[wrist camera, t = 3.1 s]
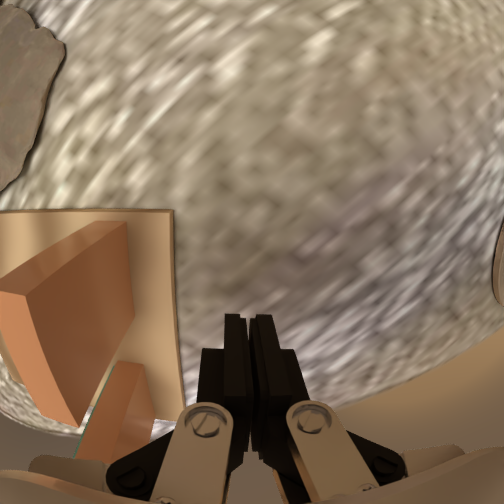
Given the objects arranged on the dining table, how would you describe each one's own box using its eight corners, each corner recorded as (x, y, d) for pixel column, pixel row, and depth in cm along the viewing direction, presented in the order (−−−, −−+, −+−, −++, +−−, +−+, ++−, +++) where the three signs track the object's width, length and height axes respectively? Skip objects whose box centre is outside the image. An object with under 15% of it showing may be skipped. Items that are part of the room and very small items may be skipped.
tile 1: (126, 221, 14) (25, 296, 6) (135, 316, 16) (79, 428, 8) (91, 220, 14) (-18, 287, 6) (103, 312, 16) (36, 413, 8)
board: (173, 209, 15) (169, 213, 15) (186, 413, 21) (185, 422, 20) (-30, 212, 14) (-37, 215, 13) (17, 374, 20) (13, 380, 19)
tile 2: (143, 363, 18) (107, 471, 9) (155, 415, 20) (135, 507, 11) (114, 359, 18) (68, 459, 9) (129, 411, 19) (103, 498, 11)
